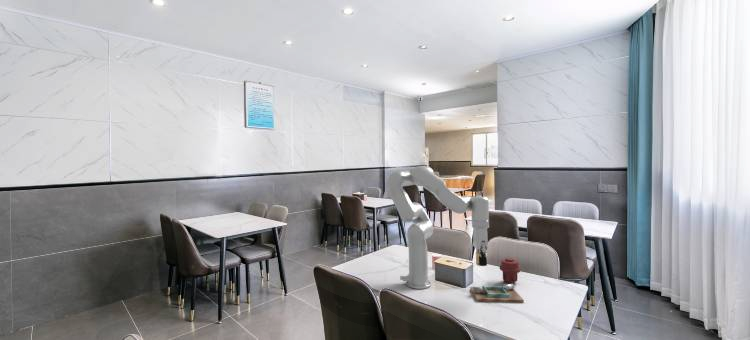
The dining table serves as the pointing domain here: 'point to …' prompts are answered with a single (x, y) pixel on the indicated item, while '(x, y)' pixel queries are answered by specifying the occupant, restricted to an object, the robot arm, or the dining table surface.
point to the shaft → (508, 287)
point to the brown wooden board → (495, 294)
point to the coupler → (478, 257)
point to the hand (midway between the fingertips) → (481, 263)
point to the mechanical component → (510, 270)
